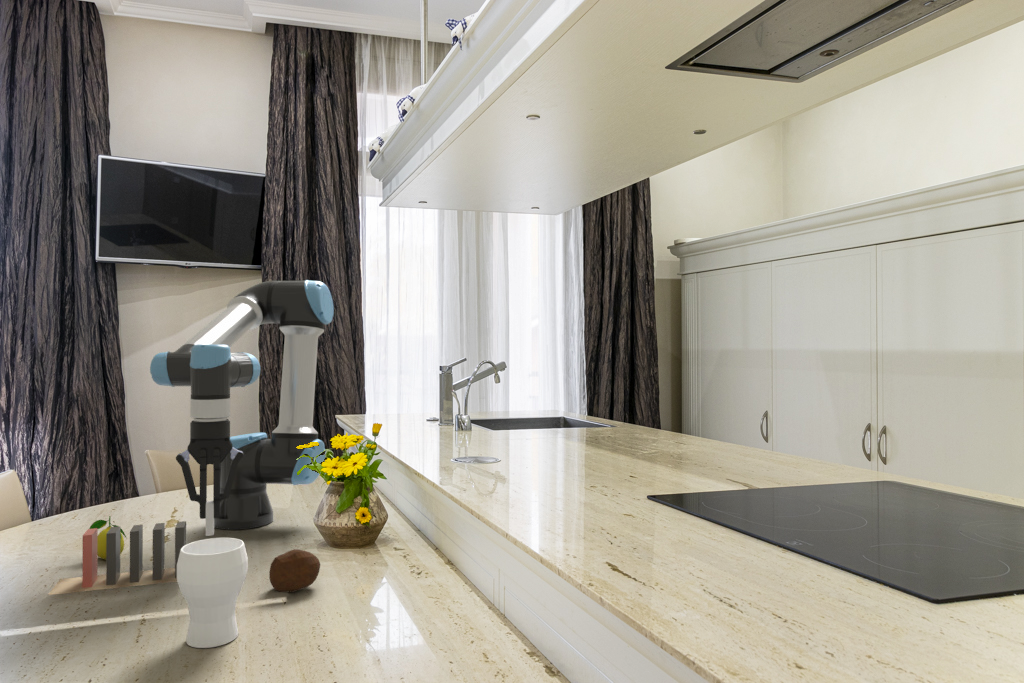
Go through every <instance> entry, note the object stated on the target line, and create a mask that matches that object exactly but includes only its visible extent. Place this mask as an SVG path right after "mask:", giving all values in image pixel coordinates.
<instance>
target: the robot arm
mask: <svg viewBox="0 0 1024 683" xmlns="http://www.w3.org/2000/svg"><path fill="white" fill-rule="evenodd" d="M226 305H227V306H226V309H225V310H223V311H222V312H220V314H219V315H217V316H216V317H215V318H214V319H213V320H211V321H210V322H209V323H208V324H206V326H204V327H203V328H202V329H200V330H199V331H198V332H196V334H194V335H193V336H192V337H191V338H189V339H188V340H187V341H186V342H184V344H182V345H181V346H180V347H179V348H178V349H176V350H175V351H173V352H172V351H170V350H169V351H165V352H162V351H161V352H159V353H156V354H155V355H154V356H153V357H152V359H151V362H150V366H149V371H150V375H151V379H152V381H153V382H154V383H155V384H157V385H158V386H165V387H172V388H173V387H174V388H175V387H190V400H189V401H190V402H189V403H190V409H189V410H190V411H189V413H190V414H189V415H190V416H189V417H190V419H192V420H191V421H190V424H189V425H190V427H189V428H190V431H189V432H190V434H189V440H190V441H189V444H188V445H187V449H185V451H183V452H181V453H180V452H179V453H177V455H176V456H175V460H176V462H177V463H178V464H179V465H180V468H181V471H182V475H183V478H184V483H185V485H186V489H187V493H188V497H189V500H190V501H191V502H197V503H198V504H199V519H201V520H203V519H204V520H205V537H206V536H207V537H208V536H214V534H215V528H216V529H220V530H229V531H230V530H232V531H233V530H246V529H253V528H259V527H263V526H266V525H269V524H271V523H272V522H273V521H274V509H273V507H272V504H271V501H270V498H269V495H268V492H267V485H268V484H269V485H270V484H271V485H273V484H274V485H292V486H298V485H299V486H300V485H310V484H313V483H315V481H317V479H318V478H319V476H320V474H319V473H317V472H315V471H312V470H311V469H309V468H304V469H303V470H302V471H301V473H300V474H299V475H297V472H298V471H299V470H300V469H301V468H302V467H303V466H304V465H307V464H310V463H311V458H309V457H302V458H300V459H298V460H296V459H297V458H299V457H300V456H302V455H303V454H308V455H309V456H310V457H316V456H317V455H319V454H320V453H321V452H323V451H324V450H325V451H326V448H325V443H324V441H323V440H321V439H319V438H318V437H319V432H318V431H317V430H316V429H315V428H314V426H313V424H314V422H313V421H314V410H315V409H314V408H315V391H316V378H317V377H316V376H317V361H318V347H319V346H318V345H319V337H320V336H321V335H322V334H323V333H324V332H325V327H326V326H325V325H329V324H330V323H332V321H333V318H334V315H335V314H334V313H335V312H334V309H335V308H334V301H333V297H332V293H331V291H330V289H329V287H328V286H327V285H326V284H325V283H324V282H322V281H320V280H309V279H305V280H267V281H263V282H260V283H257V284H255V285H253V286H250V287H248V288H246V289H244V290H242V291H241V292H239V293H238V294H237V295H235V296H234V297H233V298H232V299H231V300H230V301H229V302H228V304H226ZM268 324H279V327H278V329H279V330H280V331H281V333H282V334H283V335H284V340H283V341H284V344H283V357H282V370H281V383H280V384H281V387H280V401H279V413H278V414H279V416H278V425H277V427H275V429H273V430H272V432H271V438H268V434H267V433H266V432H253V433H252V432H251V433H246V434H238V435H233V436H231V420H229V418H230V417H231V388H237V387H239V388H240V387H241V388H245V387H246V386H247V387H248V386H250V385H252V384H253V383H255V382H256V381H257V380H258V379H259V377H260V374H261V365H260V361H259V360H258V358H257V357H256V356H254V355H253V354H251V353H248V352H244V351H241V352H239V351H238V352H237V351H236V352H231V347H232V346H234V344H235V343H236V342H237V341H238V340H240V339H241V338H242V337H243V336H244V335H245V334H246V333H247V332H248V331H253V330H255V329H258V328H259V327H260V325H268ZM310 442H318V443H319V446H314V447H311V448H303V449H297V448H296V447H297V446H299V445H304V444H308V443H310ZM190 456H191V457H192V458H193V460H195V462H197V464H198V465H199V493H198V492H197V489H196V486H195V482H194V481H195V480H194V479H193V474H192V471H191V467H190V463H189V461H190ZM325 458H326V454H325V455H320V456H318V457H317V458H316V462H317V463H321V462H323V461H324V462H325V460H326V459H325ZM324 459H325V460H324ZM208 465H213V468H212V469H213V470H212V471H213V476H212V477H213V481H212V483H213V484H212V485H213V486H212V487H213V500H207V498H208V496H207V494H208V489H207V488H208V486H207V484H208Z"/></svg>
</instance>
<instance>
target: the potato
mask: <svg viewBox="0 0 1024 683" xmlns="http://www.w3.org/2000/svg"><path fill="white" fill-rule="evenodd" d="M320 570H321V562H320V560H319V558H318V557H317V556H316V555H315V554H313V553H311V552H310V551H306V550H302V549H298V548H297V549H295V548H294V549H291V550H288V551H285V553H281V554H280V555H277V556H275V557H274V558H273V560H272V561H271V563H270V567H269V575H268V578H269V582H270V585H271V586H272V588H273V589H274V590H275V591H278V592H283V593H285V592H287V593H288V594H289V593H293V592H296V591H300V590H303V589H307V588H308V587H309V586H311V585H313V583H314V582H315V581H316V580H317V577H318V576H319V575H320V574H319V573H320Z"/></svg>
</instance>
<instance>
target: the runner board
mask: <svg viewBox="0 0 1024 683" xmlns="http://www.w3.org/2000/svg"><path fill="white" fill-rule="evenodd" d="M175 582H178V581H177V578H175V567H170V568H169V567H167V568H164V574H163V577H162V580H153V569H149V570H148V569H147V570H143V574H142V576H141V578H140V581H139V582H134V583H130V571H129V572H128V571H127V572H120V577H119V579H118V581H117V583H116V584H115V585H106V574H99V575H98V574H97V580H96V581H95V583H94V585H93V586H92V587H86V588H82V576H79V577H78V576H76V577H69V578H59V580H58V582H56V583H55V585H54V586H53V588H52V589H51V590H50V592H48V594H47V596H53V595H54V596H55V595H60V594H61V595H64V594H70V593H80V592H90V591H100V590H107V589H119V588H127V587H138V586H146V585H157V584H167V583H175Z"/></svg>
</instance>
